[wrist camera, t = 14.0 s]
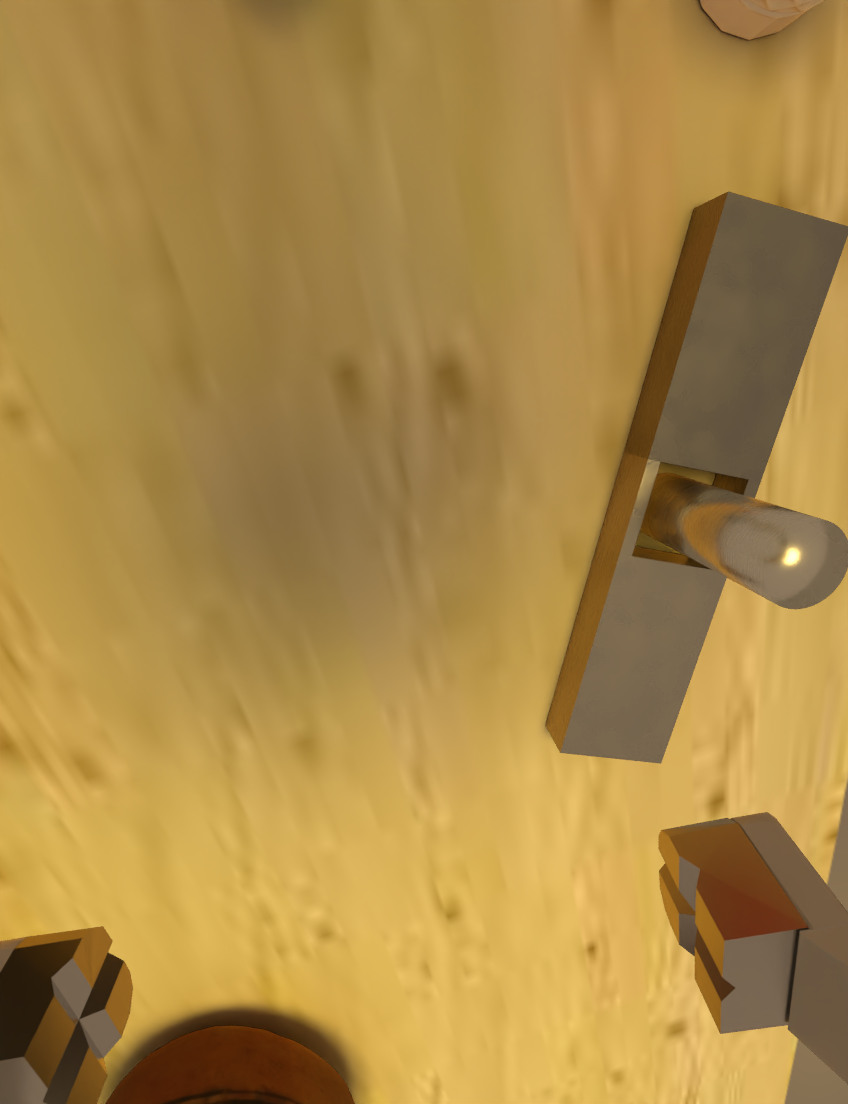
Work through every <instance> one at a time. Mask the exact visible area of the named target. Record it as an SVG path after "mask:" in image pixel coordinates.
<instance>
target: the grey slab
mask: <svg viewBox="0 0 848 1104" xmlns="http://www.w3.org/2000/svg"><path fill="white" fill-rule="evenodd" d="M847 236H848V226H845V225H841V224H838V223H834V222H831V221H828V220H824V219H821V218H817V217H814V216H810V215H807V214H804V213H800V212H797V211H793V210H790V209H786V208H783V207H779V206H776V205H773V204H769V203H766V202H762V201H759V200H755V199H752V198H748V197H745V196H742V195H738V194H735V193H731V192H727V193H724V194H722V195H720V196H718V197H716V198H714V199H712V200H710V201H708V202H706V203H704V204H702V205H700V206H698V207H696V208H694V211H693V214H692V218H691V221H690V225H689V228H688V232H687V235H686V239H685V242H684V246H683V249H682V253H681V256H680V260H679V263H678V267H677V270H676V273H675V277H674V280H673V284H672V287H671V291H670V294H669V298H668V301H667V305H666V308H665V312H664V315H663V319H662V322H661V326H660V329H659V333H658V336H657V339H656V343H655V346H654V350H653V353H652V357H651V360H650V364H649V367H648V371H647V374H646V378H645V381H644V385H643V388H642V392H641V395H640V399H639V402H638V406H637V409H636V412H635V416H634V419H633V423H632V426H631V430H630V433H629V437H628V440H627V444H626V447H625V451H624V454H623V458H622V461H621V465H620V468H619V472H618V475H617V478H616V482H615V485H614V489H613V492H612V496H611V499H610V503H609V506H608V510H607V513H606V517H605V520H604V524H603V527H602V531H601V534H600V538H599V541H598V545H597V548H596V551H595V555H594V558H593V562H592V565H591V569H590V572H589V576H588V579H587V583H586V586H585V590H584V593H583V597H582V600H581V604H580V607H579V611H578V614H577V618H576V621H575V624H574V628H573V631H572V635H571V638H570V642H569V645H568V649H567V652H566V656H565V659H564V663H563V666H562V670H561V673H560V677H559V680H558V684H557V687H556V690H555V694H554V697H553V701H552V704H551V708H550V711H549V715H548V718H547V722H546V725H545V726H546V728H547V730H548V731H549V733H550V735H551V737H552V739H553V740H554V742H555V744H556V746H557V748H558V750H559V751H560V753H567V754H577V755H586V756H596V757H605V758H615V759H624V760H633V761H643V762H652V763H661V762H662V759H663V756H664V753H665V751H666V748H667V745H668V742H669V739H670V736H671V734H672V731H673V728H674V725H675V722H676V719H677V717H678V714H679V711H680V708H681V705H682V702H683V700H684V697H685V694H686V691H687V688H688V685H689V683H690V680H691V677H692V674H693V671H694V669H695V666H696V663H697V660H698V657H699V654H700V652H701V649H702V646H703V643H704V640H705V637H706V635H707V632H708V629H709V626H710V623H711V620H712V618H713V615H714V612H715V609H716V606H717V603H718V601H719V598H720V595H721V592H722V589H723V587H724V584H725V581H726V578H727V577H725V576H723V575H721V574H719V573H717V572H716V571H714V570H712V569H710V568H708V567H706V566H704V565H703V564H701V563H699V562H697V561H695V560H693V559H691V558H690V557H688V556H686V555H682V554H676V553H670V552H664V551H659V550H653V549H647V548H641V547H635V544H636V541H637V537H638V534H639V531H640V528H641V524H642V521H643V518H644V514H645V511H646V508H647V505H648V501H649V498H650V495H651V491H652V488H653V485H654V482H655V478H656V475H657V472H658V469H659V465H660V462H664V463H669V464H674V465H679V466H684V467H689V468H694V469H699V470H704V471H709V472H714V473H717V474H716V477H715V480H714V483H713V486H715V487H718V488H721V489H725V490H728V491H731V492H734V493H738V494H741V495H744V496H748V497H751V498H754V499H755V496H756V493H757V490H758V488H759V485H760V482H761V479H762V476H763V473H764V471H765V468H766V465H767V462H768V459H769V456H770V454H771V451H772V448H773V445H774V442H775V439H776V437H777V434H778V431H779V428H780V425H781V422H782V420H783V417H784V414H785V411H786V408H787V406H788V403H789V400H790V397H791V394H792V391H793V389H794V386H795V383H796V380H797V377H798V374H799V372H800V369H801V366H802V363H803V360H804V357H805V355H806V352H807V349H808V346H809V343H810V340H811V338H812V335H813V332H814V329H815V326H816V324H817V321H818V318H819V315H820V312H821V309H822V307H823V304H824V301H825V298H826V295H827V292H828V290H829V287H830V284H831V281H832V278H833V275H834V273H835V270H836V267H837V264H838V261H839V258H840V256H841V253H842V250H843V247H844V244H845V242H846V239H847Z"/></svg>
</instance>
